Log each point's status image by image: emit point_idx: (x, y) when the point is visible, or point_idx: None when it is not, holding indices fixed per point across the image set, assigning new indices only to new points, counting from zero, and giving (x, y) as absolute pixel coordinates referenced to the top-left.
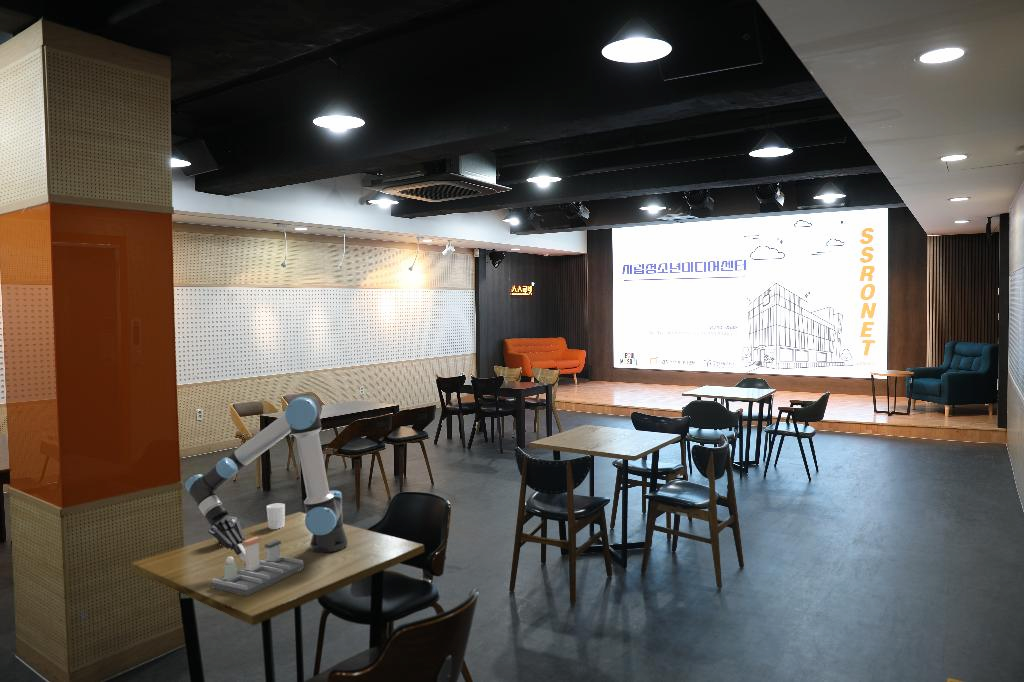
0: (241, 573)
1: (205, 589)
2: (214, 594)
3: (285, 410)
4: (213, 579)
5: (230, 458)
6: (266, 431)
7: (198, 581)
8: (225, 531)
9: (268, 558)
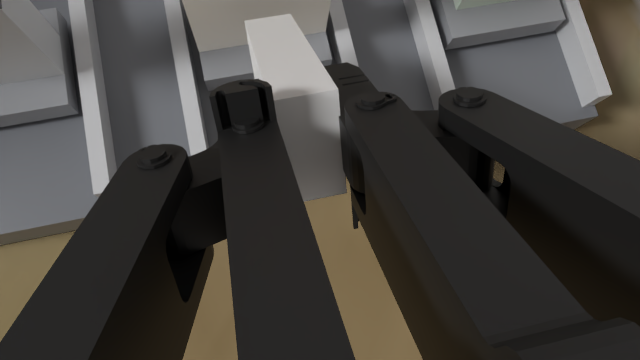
0: None
1: (613, 136)
2: (600, 4)
3: None
4: (605, 75)
5: None
6: None
7: None
8: (586, 318)
9: (51, 41)
